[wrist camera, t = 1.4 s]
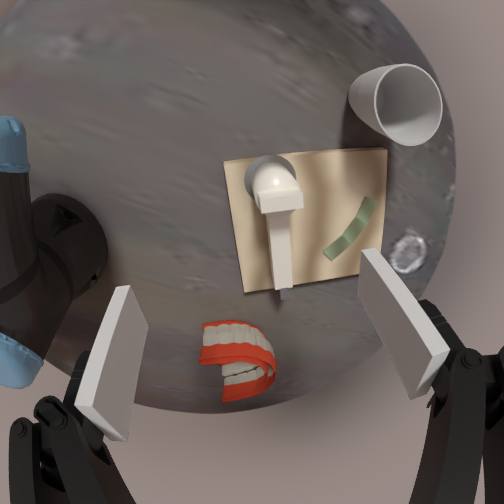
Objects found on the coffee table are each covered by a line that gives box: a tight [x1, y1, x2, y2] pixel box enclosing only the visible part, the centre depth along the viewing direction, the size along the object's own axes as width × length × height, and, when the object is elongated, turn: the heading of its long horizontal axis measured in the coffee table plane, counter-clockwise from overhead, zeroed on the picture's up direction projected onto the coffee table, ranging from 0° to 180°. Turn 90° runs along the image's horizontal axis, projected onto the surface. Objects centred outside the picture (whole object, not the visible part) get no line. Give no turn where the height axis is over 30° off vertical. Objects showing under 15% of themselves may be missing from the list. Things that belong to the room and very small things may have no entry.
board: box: [224, 147, 387, 292], centre depth 38 cm, size 20×18×2 cm
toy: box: [199, 320, 277, 402], centre depth 46 cm, size 12×10×8 cm
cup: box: [348, 64, 442, 146], centre depth 27 cm, size 8×8×10 cm
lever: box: [251, 161, 304, 300], centre depth 34 cm, size 17×5×7 cm, turn 7°
